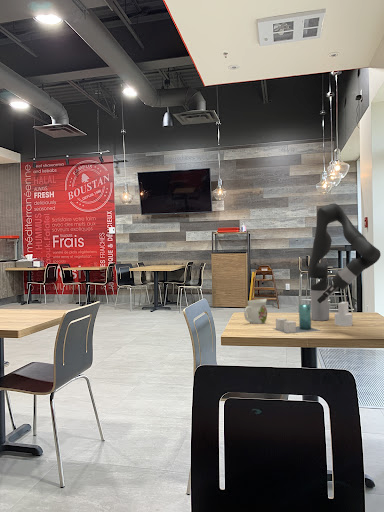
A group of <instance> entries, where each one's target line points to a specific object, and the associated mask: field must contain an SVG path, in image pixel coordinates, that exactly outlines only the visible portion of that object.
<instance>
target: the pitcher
mask: <svg viewBox="0 0 384 512" xmlns="http://www.w3.org/2000/svg"><path fill="white" fill-rule="evenodd" d="M267 300H268V299H267V298H260V299H252V300H251V299H250V300H247V302H246V303H247V306H246V307H245V309H244V311H243V312H244V313H243V314H244V319H245V320H246V322H249V324H251V325H252V324H254V325H259V324H265V323H266V321H267V318H268V309H267V308H268V307H267V306H266V305H267Z"/></svg>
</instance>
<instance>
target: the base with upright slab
mask: <svg viewBox="0 0 384 512" xmlns="http://www.w3.org/2000/svg"><path fill="white" fill-rule="evenodd" d="M337 309H338V311H337V312H334V326H337V325H339V326H338V327H352V326H353V313H350V312H349V301H340V302H338V304H337Z"/></svg>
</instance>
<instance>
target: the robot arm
mask: <svg viewBox="0 0 384 512" xmlns="http://www.w3.org/2000/svg"><path fill="white" fill-rule="evenodd" d="M334 222H338V223H339V224H340V225H341V226H342V232H343V236H344V238H345V240H346V241H347V242H348V244H350V245H351V247H353V248H355V250H356V252H357V253H358V254H359V255H360V257H359V258H353V259H352V260H350V262H349V263H347V264H346V265H345V266H344V267H343V268H341V269H340V270H339V271H338V272H337V273H336V274H335V275H334V276H333V277H332V278H331V280H332V284H330V285H329V286H328V284H329V283H328V280H329V279H328V275H329V268H328V264H327V262H320V261H321V260H322V259H323V258H325V256H327V255H328V253H329V252H330V250H331V246H332V237H331V235H330V234H329V232H328V231H327V228H328V226H329V224H331V223H334ZM315 224H316V226H315V232H314V239H313V245H312V251H311V257H310V259H309V262H308V263H309V264H308V266H307V267H308V268H307V275H308V278H310V279H320V280H319V281H318V282H316V283H313V284H311V285H310V305H311V321H323V322H324V321H328V320H330V303H329V301H328V298H329V297H331V296H332V295H334V294H335V293H337V291H338V289H340V290H342V291H344V290H345V289H346V288H348V286H349V285H351V284H352V283H353V282H354V281H355V279H357V277H358V276H359V275H360V274H362V273H363V272H364V271H365V270H366V269H368V268H370V267H371V266H373V265H374V264H376V263H377V262H378V261H379V260H380V258H381V251H380V249H378V248H377V247H376V246H374V245H373V244H372V243H371V242H369V240H368V239H367V238H366V237H365V236H364V235H363V234H362V232H360V231H359V229H357V228H356V227H355V225H354V224H353V222H352V221H351V220H350V218H349V217H348V216H347V214H346V213H345V212H344V210H343V209H342V208H341V206H340V205H339V204H337V203H334V202H333V203H330V204H327V205H323V206H320V208H318V210H317V213H316V223H315Z"/></svg>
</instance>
